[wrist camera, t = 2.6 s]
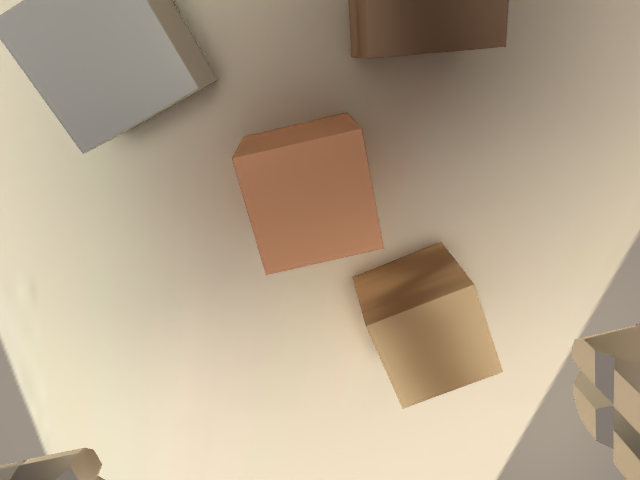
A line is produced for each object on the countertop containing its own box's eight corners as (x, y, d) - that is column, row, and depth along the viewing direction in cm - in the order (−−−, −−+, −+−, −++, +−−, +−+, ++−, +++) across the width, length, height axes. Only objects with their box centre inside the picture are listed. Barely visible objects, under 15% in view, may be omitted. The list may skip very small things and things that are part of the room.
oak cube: (440, 241, 26) (474, 284, 21) (466, 317, 27) (503, 371, 23) (352, 276, 26) (366, 326, 21) (383, 348, 28) (402, 408, 23)
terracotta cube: (346, 112, 23) (361, 128, 18) (366, 210, 25) (383, 248, 20) (243, 136, 23) (232, 158, 18) (270, 232, 25) (266, 274, 20)
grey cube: (153, -32, 20) (113, -56, 16) (217, 79, 22) (198, 88, 17) (55, 28, 21) (-12, 22, 16) (125, 132, 23) (83, 154, 18)
